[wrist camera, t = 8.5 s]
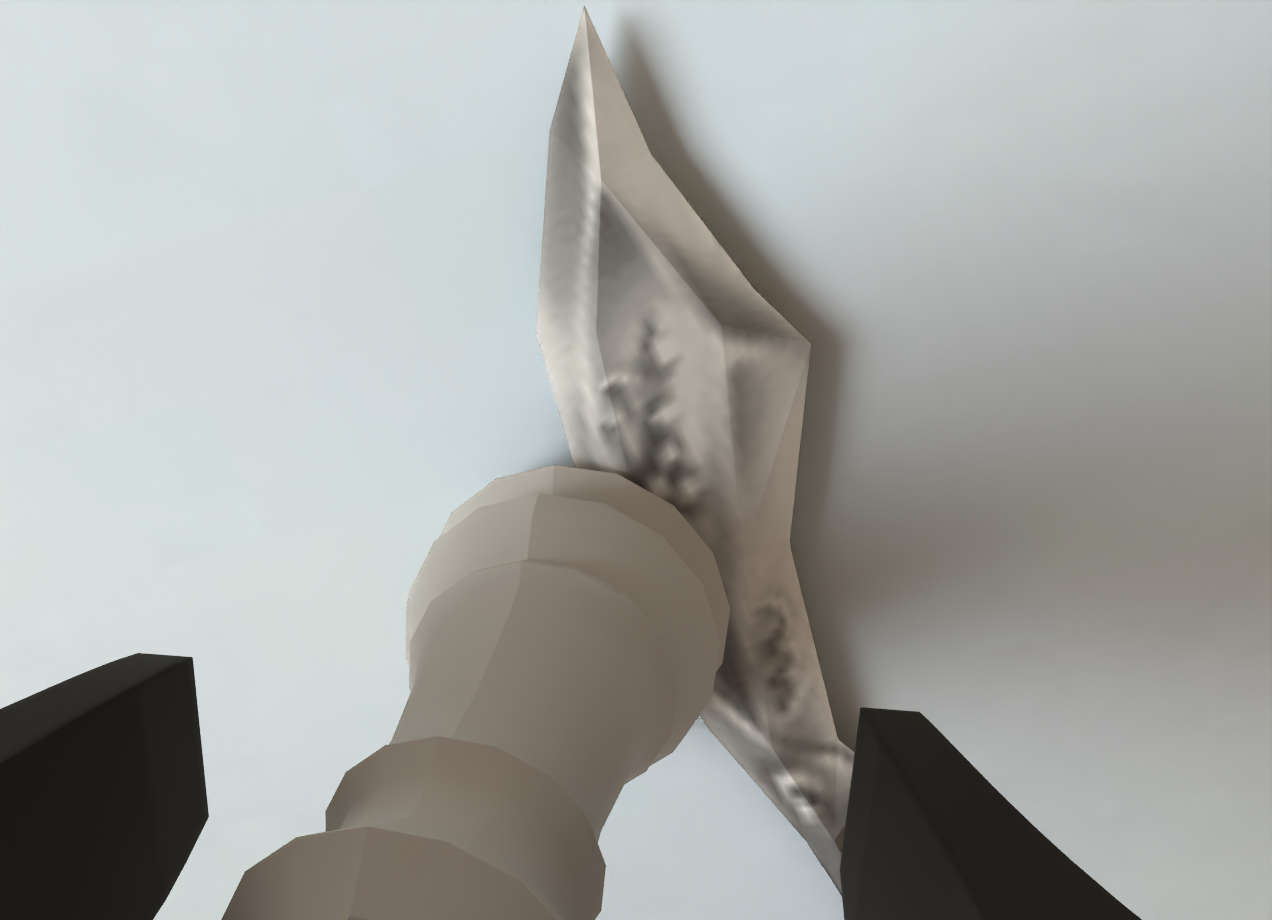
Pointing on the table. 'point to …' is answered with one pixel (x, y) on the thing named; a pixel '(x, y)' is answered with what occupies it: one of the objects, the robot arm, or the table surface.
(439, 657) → the rook chess piece
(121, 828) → the robot arm
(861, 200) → the table surface
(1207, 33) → the table surface
